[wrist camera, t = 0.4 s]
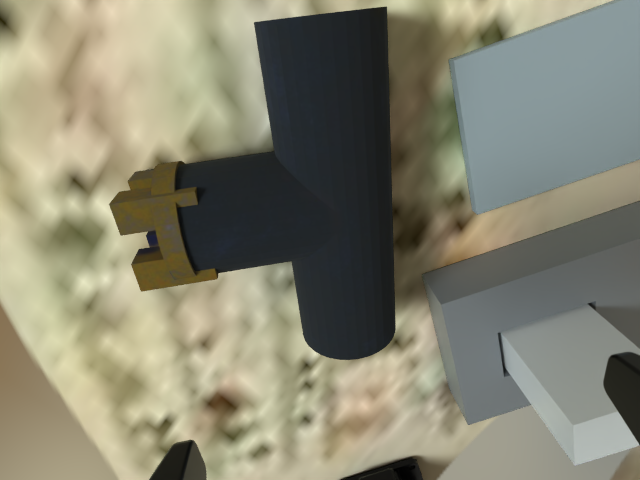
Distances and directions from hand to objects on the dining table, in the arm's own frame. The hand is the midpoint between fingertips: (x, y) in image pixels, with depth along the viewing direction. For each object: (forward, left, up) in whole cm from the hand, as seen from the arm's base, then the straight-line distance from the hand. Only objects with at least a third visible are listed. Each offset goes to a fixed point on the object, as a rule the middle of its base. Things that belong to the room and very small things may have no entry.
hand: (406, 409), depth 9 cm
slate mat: (0, -13, -14) cm, 19 cm away
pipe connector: (+1, +3, -15) cm, 15 cm away
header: (-12, -15, -14) cm, 24 cm away
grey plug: (-12, -9, -14) cm, 21 cm away
